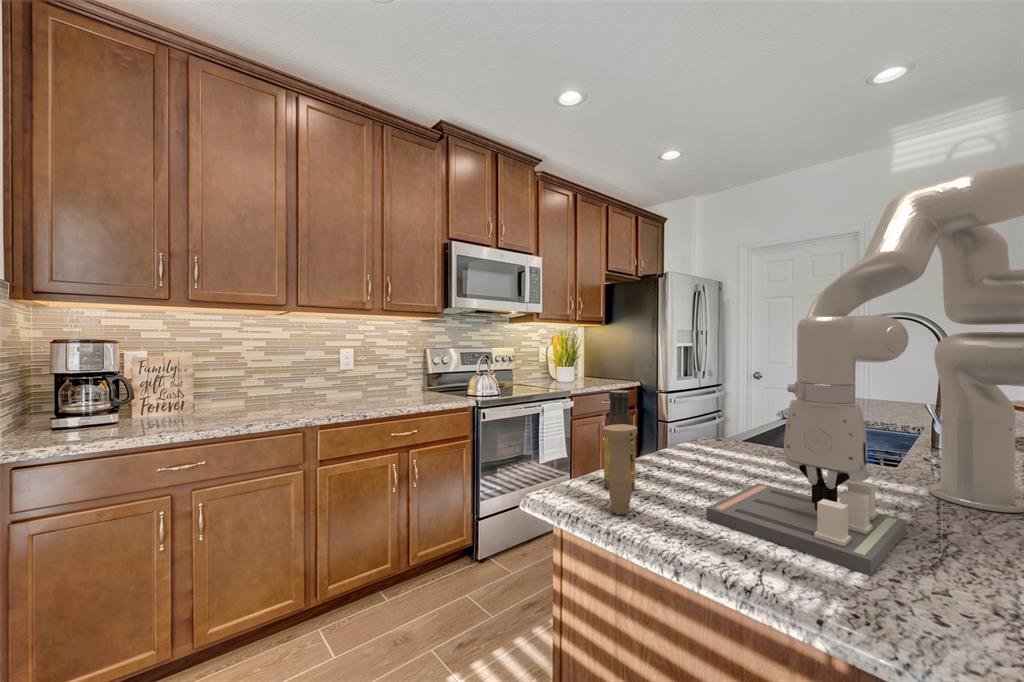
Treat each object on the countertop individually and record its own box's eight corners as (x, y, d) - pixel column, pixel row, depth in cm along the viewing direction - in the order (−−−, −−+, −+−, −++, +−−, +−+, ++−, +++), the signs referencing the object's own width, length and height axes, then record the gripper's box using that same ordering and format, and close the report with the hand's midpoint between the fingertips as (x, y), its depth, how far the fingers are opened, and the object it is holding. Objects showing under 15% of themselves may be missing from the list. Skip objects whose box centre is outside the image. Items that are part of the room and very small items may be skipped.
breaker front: (821, 531, 64) (821, 497, 64) (851, 540, 61) (851, 505, 61) (814, 537, 62) (814, 502, 62) (844, 546, 59) (844, 510, 59)
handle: (642, 512, 77) (642, 427, 76) (618, 521, 73) (618, 432, 73) (621, 503, 80) (621, 423, 80) (597, 512, 77) (597, 427, 76)
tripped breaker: (843, 520, 68) (843, 489, 68) (872, 528, 65) (872, 495, 65) (836, 525, 66) (837, 493, 66) (866, 534, 63) (866, 500, 63)
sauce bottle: (636, 494, 85) (636, 393, 85) (604, 492, 86) (604, 392, 86) (634, 483, 92) (634, 389, 91) (603, 481, 93) (603, 389, 93)
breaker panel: (758, 493, 86) (758, 482, 86) (906, 532, 68) (906, 519, 68) (706, 519, 73) (706, 507, 73) (870, 575, 56) (871, 560, 56)
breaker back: (850, 508, 73) (850, 478, 73) (878, 515, 70) (878, 484, 70) (844, 512, 71) (845, 482, 71) (872, 520, 68) (873, 488, 68)
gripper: (764, 391, 72) (763, 501, 72) (878, 402, 60) (877, 533, 60) (783, 388, 77) (782, 491, 77) (893, 397, 65) (892, 520, 65)
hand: (824, 509), depth 69 cm, fingers closed
